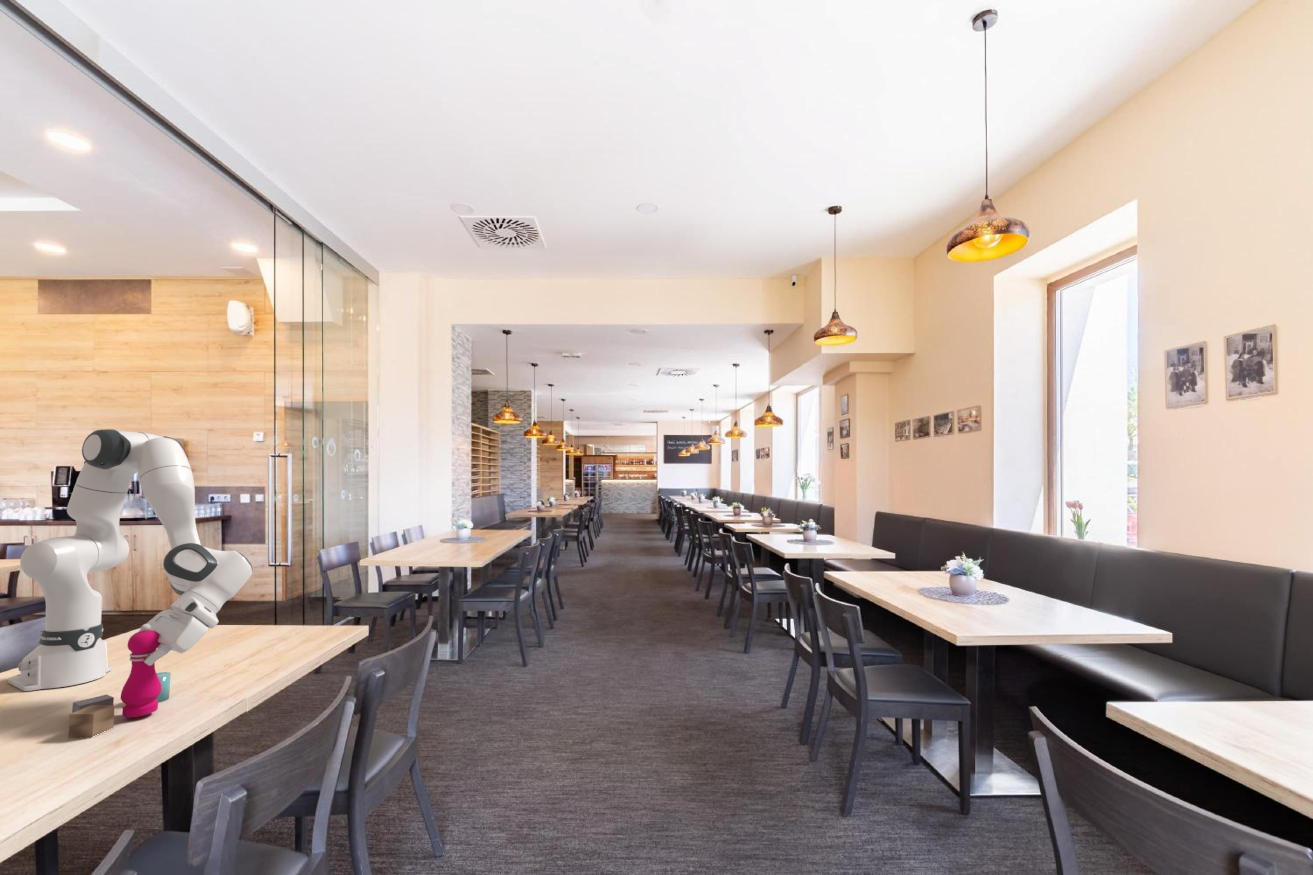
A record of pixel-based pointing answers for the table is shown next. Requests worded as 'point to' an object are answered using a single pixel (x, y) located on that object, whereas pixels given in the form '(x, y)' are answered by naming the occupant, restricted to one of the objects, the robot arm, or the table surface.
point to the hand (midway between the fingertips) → (140, 661)
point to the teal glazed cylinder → (164, 686)
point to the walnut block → (91, 721)
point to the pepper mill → (141, 675)
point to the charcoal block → (92, 702)
